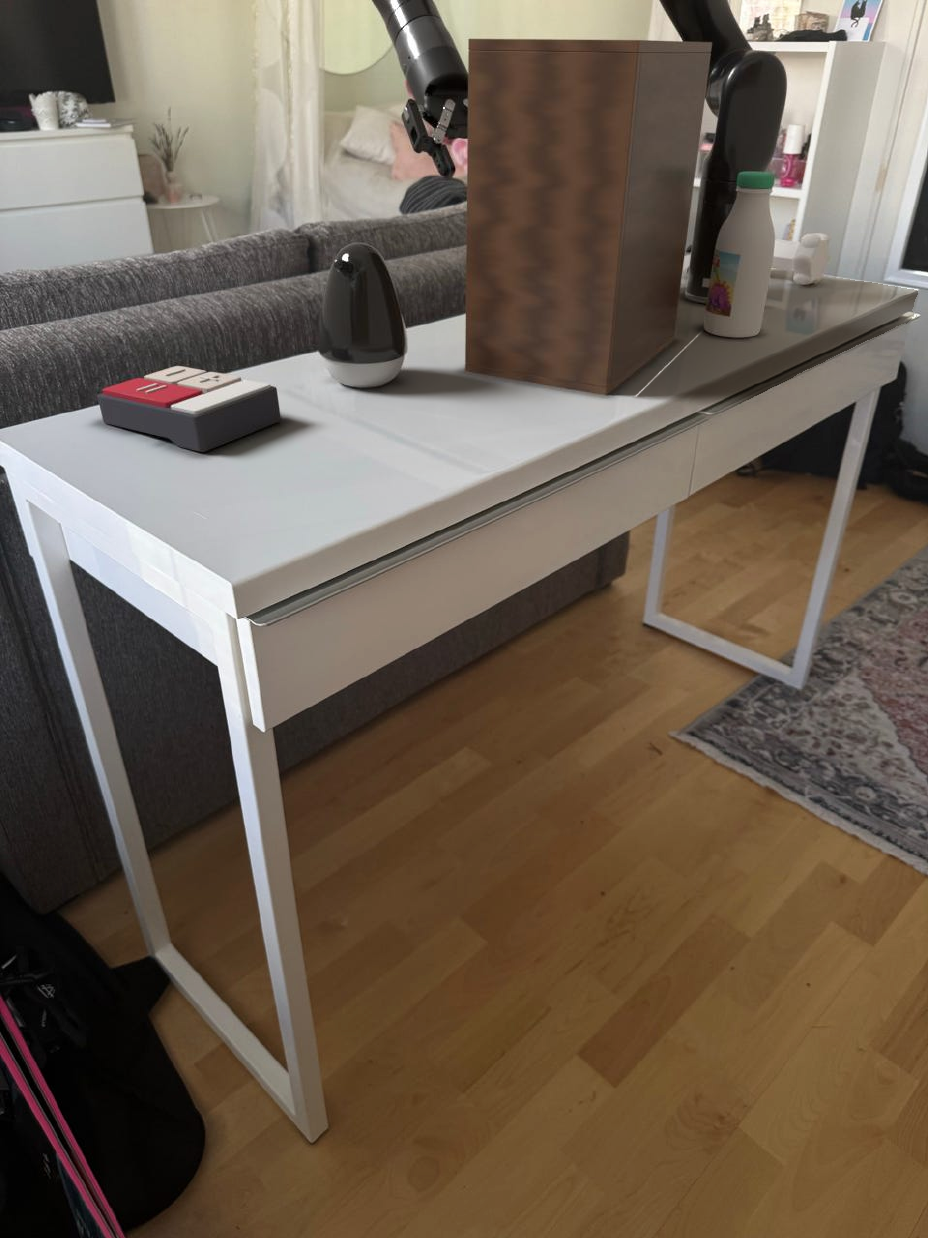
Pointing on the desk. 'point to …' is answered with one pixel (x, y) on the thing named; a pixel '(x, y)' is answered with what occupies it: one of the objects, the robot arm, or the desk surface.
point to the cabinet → (578, 204)
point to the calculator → (191, 406)
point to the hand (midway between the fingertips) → (479, 174)
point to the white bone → (803, 257)
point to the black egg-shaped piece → (361, 320)
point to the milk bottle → (742, 261)
